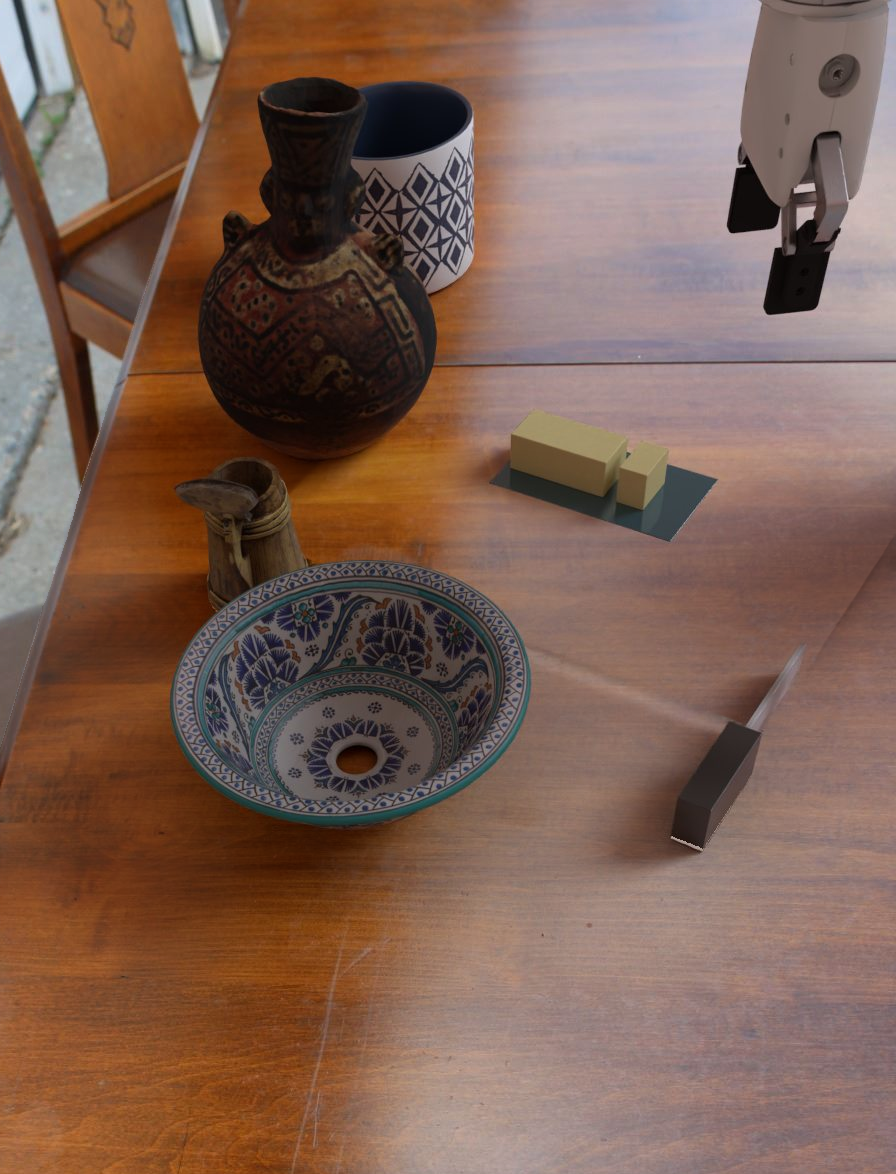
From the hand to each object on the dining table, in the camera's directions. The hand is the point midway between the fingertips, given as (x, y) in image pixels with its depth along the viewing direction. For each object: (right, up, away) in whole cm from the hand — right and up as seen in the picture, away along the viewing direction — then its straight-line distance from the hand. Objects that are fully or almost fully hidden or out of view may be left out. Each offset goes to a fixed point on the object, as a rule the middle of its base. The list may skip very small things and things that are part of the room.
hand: (769, 268), depth 84 cm
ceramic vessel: (-27, +3, +39) cm, 48 cm away
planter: (-19, +27, +55) cm, 64 cm away
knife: (+2, -30, +11) cm, 32 cm away
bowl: (-25, -31, +15) cm, 43 cm away
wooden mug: (-33, -16, +27) cm, 46 cm away
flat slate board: (-4, -5, +30) cm, 31 cm away
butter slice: (-1, -6, +28) cm, 29 cm away
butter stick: (-7, -3, +31) cm, 32 cm away
